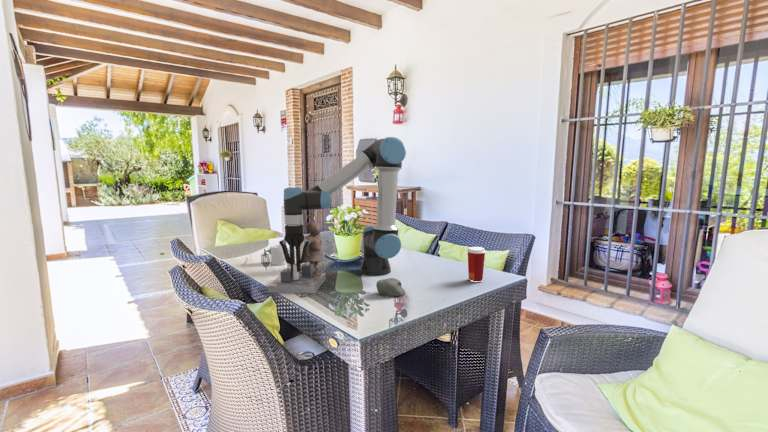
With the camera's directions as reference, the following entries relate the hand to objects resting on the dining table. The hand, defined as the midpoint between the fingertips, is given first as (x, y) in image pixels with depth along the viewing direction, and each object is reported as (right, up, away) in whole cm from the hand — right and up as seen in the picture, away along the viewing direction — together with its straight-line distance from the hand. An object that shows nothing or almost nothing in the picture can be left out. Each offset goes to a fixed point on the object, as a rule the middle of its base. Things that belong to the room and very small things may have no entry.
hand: (296, 278), depth 162 cm
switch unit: (0, -4, +6) cm, 7 cm away
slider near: (-4, -1, 0) cm, 4 cm away
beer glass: (+79, -3, +11) cm, 80 cm away
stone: (+41, -5, -7) cm, 41 cm away
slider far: (+3, 0, +10) cm, 10 cm away
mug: (-18, +1, +44) cm, 47 cm away
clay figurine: (+2, -1, +31) cm, 31 cm away
